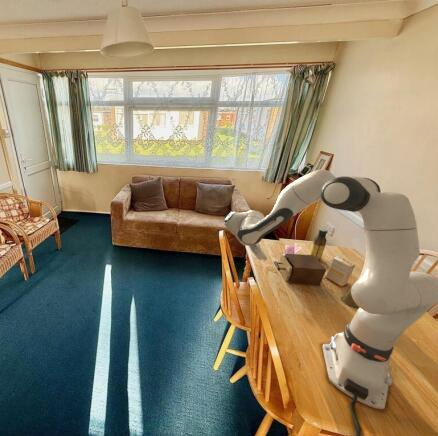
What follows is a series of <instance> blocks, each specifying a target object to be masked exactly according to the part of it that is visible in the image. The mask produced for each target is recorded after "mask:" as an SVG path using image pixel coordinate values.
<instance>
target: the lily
mask: <svg viewBox="0 0 438 436" xmlns="http://www.w3.org/2000/svg"><path fill="white" fill-rule="evenodd" d="M284 246H285V251H284V252H283V253H282V254H281V255H284V256H285V253H286V254H297V253H298V251H300V250H301V249H302V248H303V246H297V242H295V243H294V244H293V245H292V246H291V245H290V244H289V245H288V244H285V245H284Z"/></svg>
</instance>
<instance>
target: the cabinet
mask: <svg viewBox="0 0 438 436" xmlns="http://www.w3.org/2000/svg"><path fill="white" fill-rule="evenodd" d="M284 253H285V252H284ZM284 257H285V258H286V257H287V258H288V259H289V261H290V262H291V264H292V265H293V266H294V270H293V273H292V276H291V279H288V281H287V282H288V283H289V284H291V285H303V286H315V287H316V286H317V287H320V286H321V284H322V282H323V280H324V276H325V275H326V273H327V272H326V271H327V268H325V266H324V265H323V264H322V263H321V262H320V260H317V259H316V258H315V257H314V255H309V254H300V253H296V254H286V253H285V255H284Z"/></svg>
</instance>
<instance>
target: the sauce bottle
mask: <svg viewBox="0 0 438 436" xmlns="http://www.w3.org/2000/svg"><path fill="white" fill-rule="evenodd" d="M327 234H328V229H327V228H322V227H320V228H319V229H318V233H317V235H316V236H315V237H314V238H313V240H312V244H311V247H310V250H309V254H308V255H314V257H315V258H316V259H317V260H318V261H320V260H321V259H322V257H323V254H324V251H325V247H326V244H327V242H328V240H327V238H326V237H327Z"/></svg>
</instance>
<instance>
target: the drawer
mask: <svg viewBox="0 0 438 436" xmlns="http://www.w3.org/2000/svg"><path fill="white" fill-rule="evenodd" d="M273 264H274V266H275V268H276V269H277V271H279V273H280V274H281V276H282V277H283V279H284V281H285V282H289V281H288V279H291V276H292V273H293V270H294V266H293V265H292V264H291V262H290V261H289V259H288V258H287V257H286V258H285V255H282V254H281V255H280V258H279V261H278V262H277V260H274V261H273Z"/></svg>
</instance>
